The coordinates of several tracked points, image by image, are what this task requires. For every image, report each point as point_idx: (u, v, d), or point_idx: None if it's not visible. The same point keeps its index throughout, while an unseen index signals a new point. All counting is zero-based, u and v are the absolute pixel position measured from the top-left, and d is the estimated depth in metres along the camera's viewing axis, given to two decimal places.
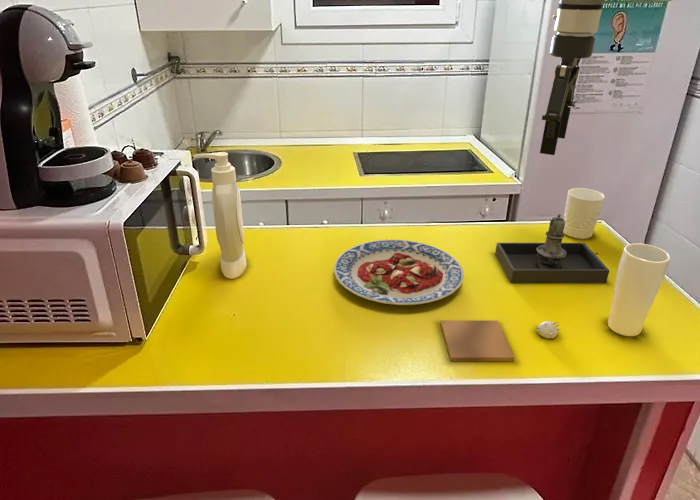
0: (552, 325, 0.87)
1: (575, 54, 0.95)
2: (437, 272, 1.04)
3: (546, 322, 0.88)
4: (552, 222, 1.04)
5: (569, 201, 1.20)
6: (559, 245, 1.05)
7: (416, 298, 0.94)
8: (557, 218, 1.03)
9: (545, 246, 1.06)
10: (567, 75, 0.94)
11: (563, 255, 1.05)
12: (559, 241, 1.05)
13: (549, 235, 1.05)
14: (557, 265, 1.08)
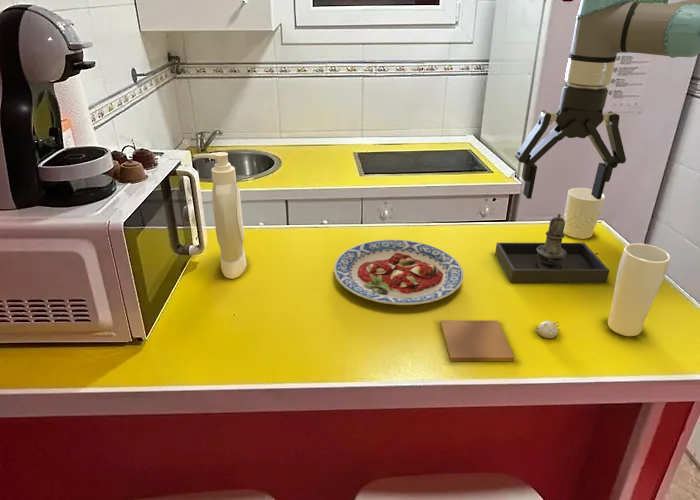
0: (552, 325, 0.87)
1: (565, 104, 0.92)
2: (437, 272, 1.04)
3: (546, 322, 0.88)
4: (552, 222, 1.03)
5: (569, 201, 1.20)
6: (559, 245, 1.05)
7: (416, 298, 0.94)
8: (557, 218, 1.03)
9: (545, 246, 1.06)
10: (542, 121, 0.94)
11: (563, 255, 1.05)
12: (559, 241, 1.05)
13: (549, 235, 1.05)
14: (557, 265, 1.08)
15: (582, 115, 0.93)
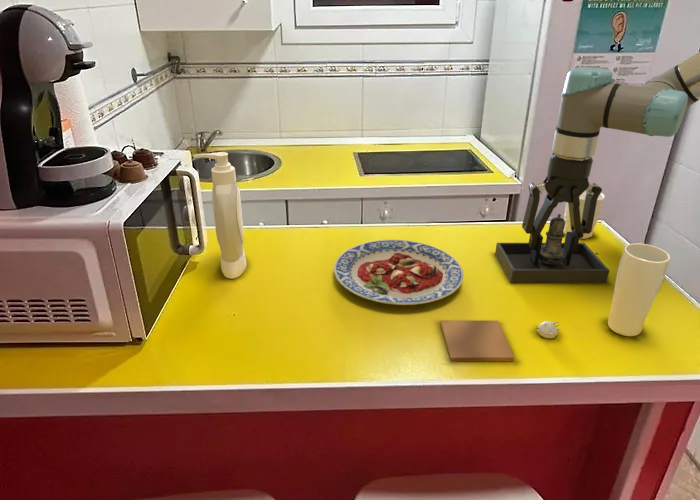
0: (552, 325, 0.87)
1: (552, 172, 0.98)
2: (437, 272, 1.04)
3: (546, 322, 0.88)
4: (552, 222, 1.03)
5: None
6: (559, 245, 1.05)
7: (416, 298, 0.94)
8: (557, 218, 1.03)
9: (545, 246, 1.06)
10: (532, 195, 1.00)
11: (563, 255, 1.05)
12: (559, 241, 1.05)
13: (549, 235, 1.05)
14: (557, 265, 1.08)
15: (569, 182, 0.99)
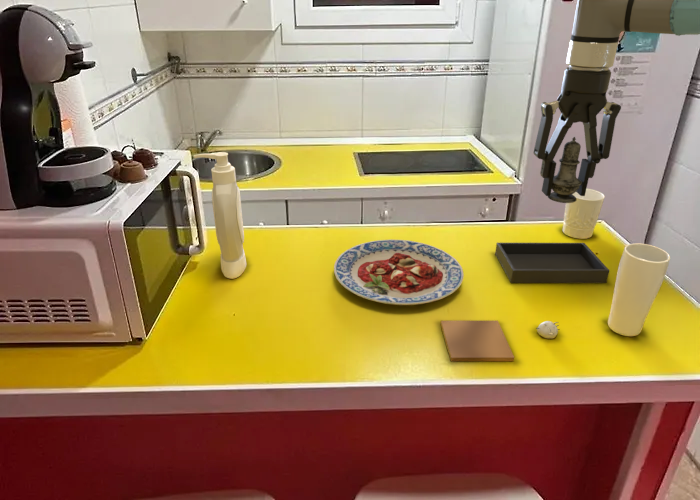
0: (552, 325, 0.87)
1: (567, 87, 0.90)
2: (437, 272, 1.04)
3: (546, 322, 0.88)
4: (566, 146, 0.95)
5: None
6: (574, 172, 0.97)
7: (416, 298, 0.94)
8: (572, 142, 0.95)
9: (559, 174, 0.98)
10: (545, 114, 0.92)
11: (578, 183, 0.97)
12: (574, 168, 0.96)
13: (563, 161, 0.96)
14: (571, 196, 1.00)
15: (585, 99, 0.91)
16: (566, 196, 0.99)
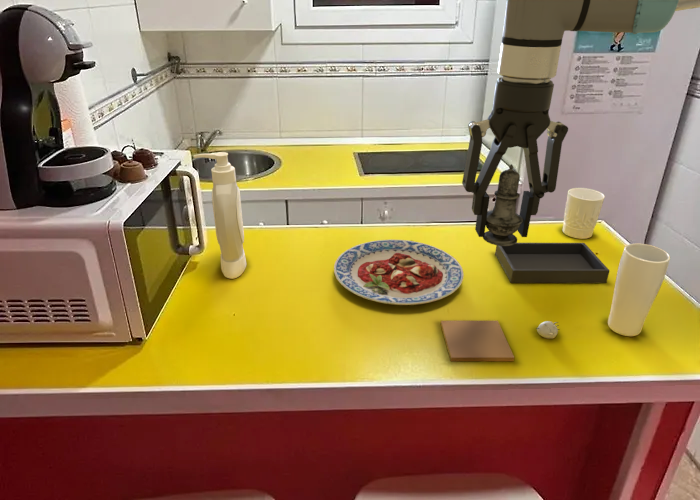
0: (552, 325, 0.87)
1: (498, 103, 0.70)
2: (437, 272, 1.04)
3: (546, 322, 0.88)
4: (502, 176, 0.76)
5: (569, 201, 1.20)
6: (512, 208, 0.77)
7: (416, 298, 0.94)
8: (509, 171, 0.76)
9: (494, 210, 0.78)
10: (472, 137, 0.72)
11: (518, 222, 0.77)
12: (512, 203, 0.77)
13: (499, 195, 0.77)
14: (511, 237, 0.80)
15: (522, 118, 0.71)
16: (504, 237, 0.80)
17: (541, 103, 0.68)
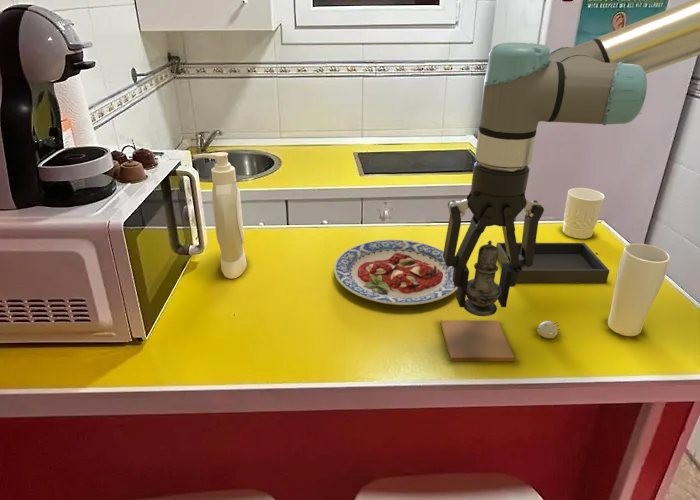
0: (552, 325, 0.87)
1: (476, 187, 0.72)
2: (437, 272, 1.04)
3: (546, 322, 0.88)
4: (481, 251, 0.78)
5: (569, 201, 1.20)
6: (491, 281, 0.80)
7: (416, 298, 0.94)
8: (487, 246, 0.78)
9: (474, 282, 0.81)
10: (451, 216, 0.75)
11: (497, 294, 0.80)
12: (491, 276, 0.79)
13: (478, 268, 0.79)
14: (491, 306, 0.83)
15: (499, 200, 0.74)
16: (484, 306, 0.82)
17: (517, 189, 0.70)
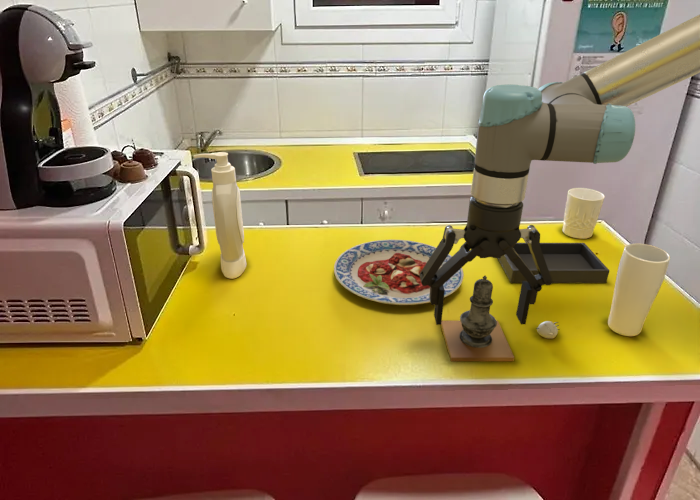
0: (552, 325, 0.87)
1: (471, 221, 0.75)
2: None
3: (546, 322, 0.88)
4: (476, 286, 0.81)
5: (569, 201, 1.20)
6: (486, 314, 0.83)
7: (416, 298, 0.94)
8: (482, 281, 0.81)
9: (469, 314, 0.84)
10: (445, 240, 0.77)
11: (491, 327, 0.83)
12: (486, 309, 0.82)
13: (473, 302, 0.82)
14: (486, 337, 0.85)
15: (494, 233, 0.76)
16: (479, 338, 0.85)
17: (511, 224, 0.73)
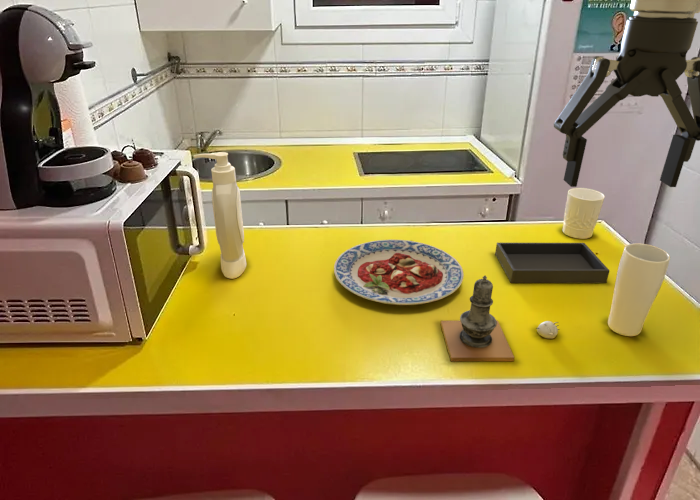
0: (552, 325, 0.87)
1: (632, 44, 0.62)
2: (437, 272, 1.04)
3: (546, 322, 0.88)
4: (476, 286, 0.81)
5: (569, 201, 1.20)
6: (486, 314, 0.83)
7: (416, 298, 0.94)
8: (482, 281, 0.81)
9: (469, 314, 0.84)
10: (596, 71, 0.64)
11: (491, 327, 0.83)
12: (486, 309, 0.82)
13: (473, 302, 0.82)
14: (486, 337, 0.85)
15: (656, 61, 0.63)
16: (479, 338, 0.85)
17: (685, 41, 0.60)
